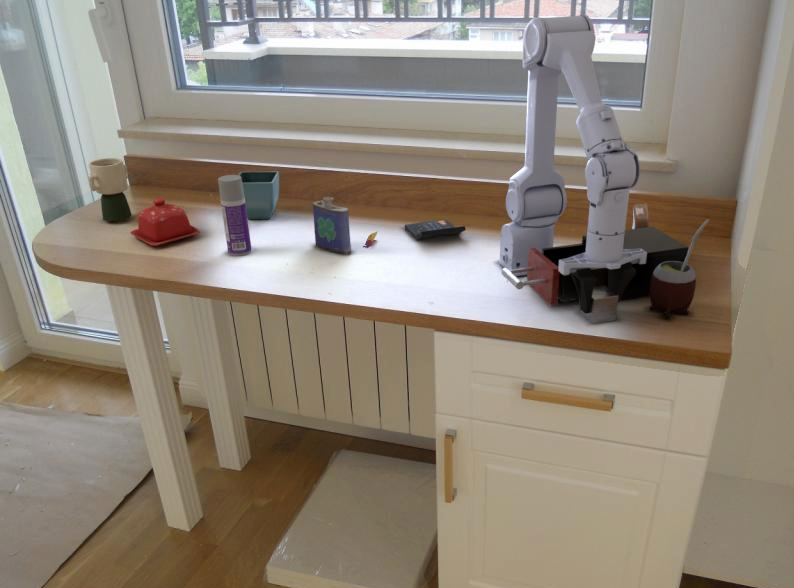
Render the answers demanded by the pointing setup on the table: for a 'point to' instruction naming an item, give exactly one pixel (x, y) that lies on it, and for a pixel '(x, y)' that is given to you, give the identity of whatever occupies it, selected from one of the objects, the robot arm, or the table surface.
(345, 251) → the flask
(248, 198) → the flower pot
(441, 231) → the calculator
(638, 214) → the tin
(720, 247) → the table surface
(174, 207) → the butter dish
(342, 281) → the table surface
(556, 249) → the drawer
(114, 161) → the character mug
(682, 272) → the mate gourd
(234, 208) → the container
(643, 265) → the black storage chest
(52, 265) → the table surface
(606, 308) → the steel block
